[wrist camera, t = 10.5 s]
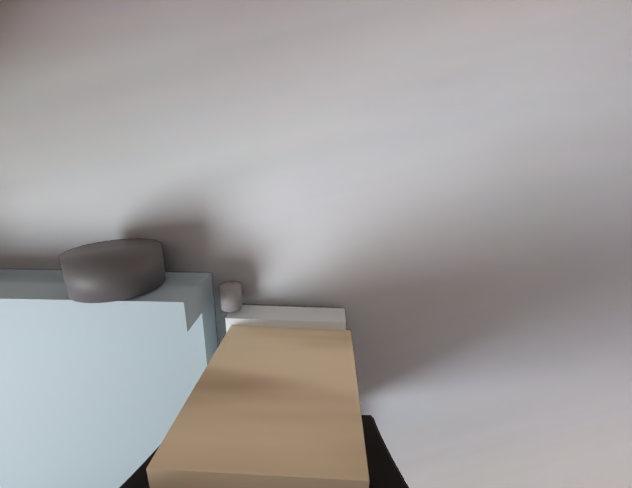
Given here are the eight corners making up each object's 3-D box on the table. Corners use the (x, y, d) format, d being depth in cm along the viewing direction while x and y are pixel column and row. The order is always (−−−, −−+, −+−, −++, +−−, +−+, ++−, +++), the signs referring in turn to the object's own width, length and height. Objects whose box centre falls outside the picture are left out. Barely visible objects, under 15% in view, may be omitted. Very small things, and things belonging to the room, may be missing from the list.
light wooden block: (345, 426, 14) (357, 621, 8) (237, 421, 14) (172, 608, 8) (351, 330, 12) (369, 480, 7) (230, 325, 13) (146, 468, 7)
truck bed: (260, 578, 19) (249, 659, 16) (-25, 571, 19) (-91, 650, 16) (242, 240, 13) (217, 266, 10) (-176, 233, 13) (-330, 256, 10)
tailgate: (251, 540, 18) (333, 545, 18) (244, 572, 17) (333, 578, 17) (236, 301, 14) (344, 305, 14) (225, 318, 12) (346, 322, 12)
